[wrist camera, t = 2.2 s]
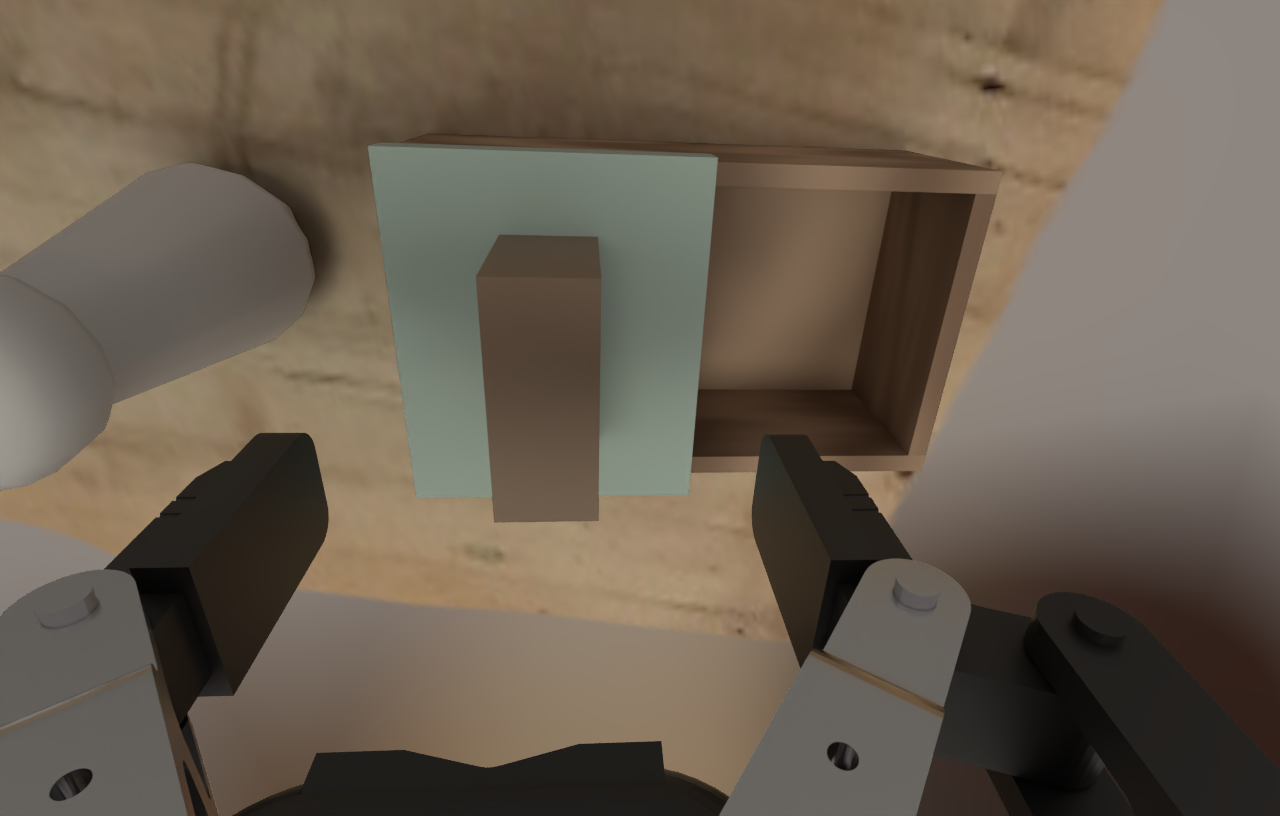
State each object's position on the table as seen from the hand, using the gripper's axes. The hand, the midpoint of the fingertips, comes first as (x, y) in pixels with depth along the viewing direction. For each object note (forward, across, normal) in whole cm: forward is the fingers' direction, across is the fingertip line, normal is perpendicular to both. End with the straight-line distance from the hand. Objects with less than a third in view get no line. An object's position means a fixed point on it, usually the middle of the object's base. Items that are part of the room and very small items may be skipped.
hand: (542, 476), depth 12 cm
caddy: (+14, -4, 0) cm, 14 cm away
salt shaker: (+14, +11, -1) cm, 18 cm away
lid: (+8, 0, 0) cm, 8 cm away
